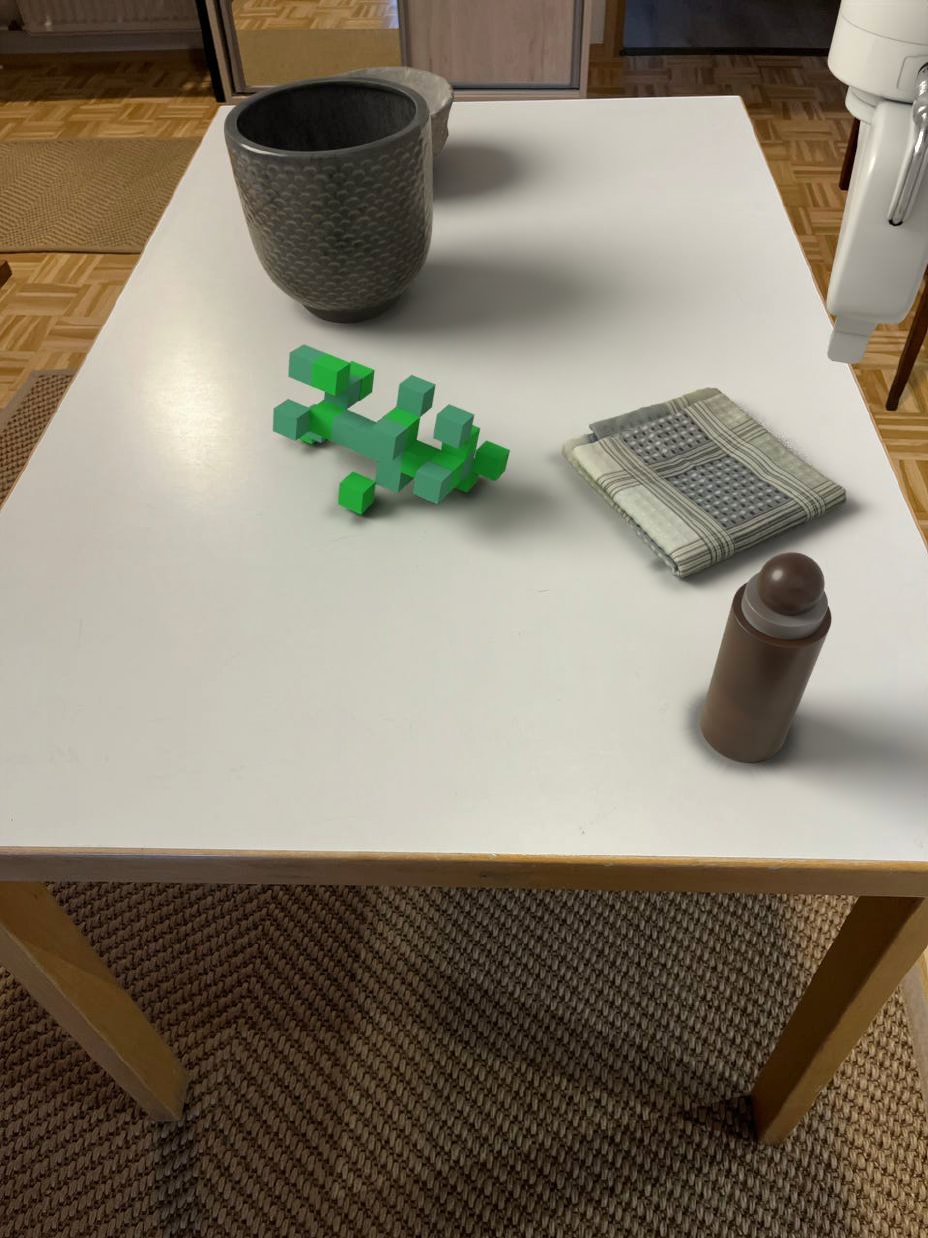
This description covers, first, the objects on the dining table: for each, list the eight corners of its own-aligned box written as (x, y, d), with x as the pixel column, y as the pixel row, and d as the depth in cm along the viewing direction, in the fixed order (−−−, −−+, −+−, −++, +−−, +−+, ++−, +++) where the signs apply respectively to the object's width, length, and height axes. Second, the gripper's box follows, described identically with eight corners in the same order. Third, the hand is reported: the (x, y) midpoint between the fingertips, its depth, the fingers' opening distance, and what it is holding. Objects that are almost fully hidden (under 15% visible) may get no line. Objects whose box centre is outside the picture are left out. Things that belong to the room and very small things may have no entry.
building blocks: (507, 468, 86) (532, 360, 75) (480, 572, 79) (503, 469, 68) (300, 417, 87) (295, 302, 76) (255, 517, 80) (243, 406, 69)
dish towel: (851, 508, 77) (862, 479, 74) (676, 588, 71) (682, 558, 69) (710, 395, 88) (716, 366, 85) (549, 456, 82) (550, 427, 80)
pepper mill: (785, 701, 64) (849, 533, 52) (784, 769, 60) (853, 606, 48) (703, 688, 65) (747, 520, 53) (697, 754, 61) (743, 590, 49)
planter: (316, 242, 110) (288, 65, 96) (468, 269, 105) (462, 86, 91) (228, 327, 99) (180, 140, 84) (394, 362, 93) (373, 168, 79)
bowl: (375, 132, 131) (367, 53, 124) (489, 167, 123) (488, 84, 115) (268, 185, 121) (252, 103, 114) (384, 227, 112) (376, 141, 105)
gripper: (1022, 125, 34) (901, 429, 45) (1011, -32, 47) (918, 234, 57) (844, 108, 36) (767, 406, 46) (879, -39, 48) (813, 221, 59)
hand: (851, 309), depth 52 cm, fingers open, 8 cm apart
